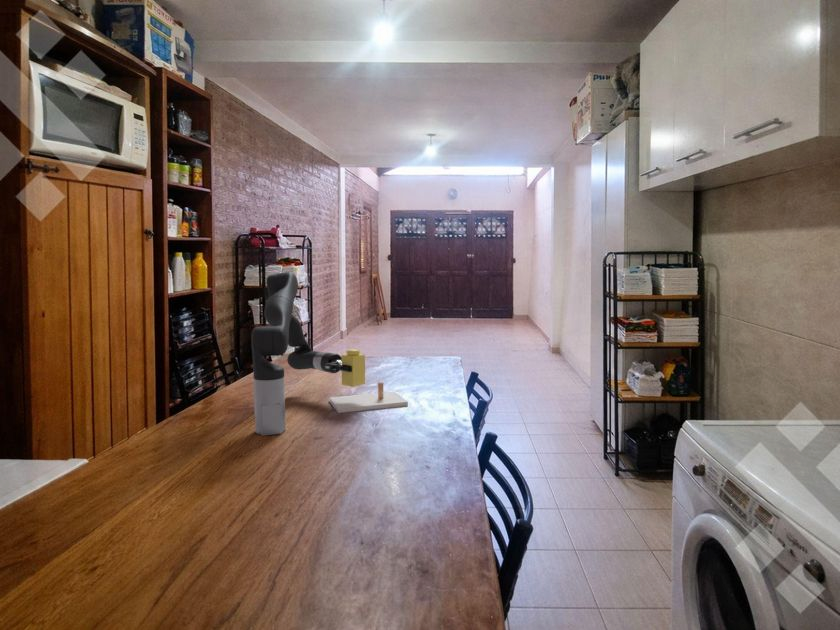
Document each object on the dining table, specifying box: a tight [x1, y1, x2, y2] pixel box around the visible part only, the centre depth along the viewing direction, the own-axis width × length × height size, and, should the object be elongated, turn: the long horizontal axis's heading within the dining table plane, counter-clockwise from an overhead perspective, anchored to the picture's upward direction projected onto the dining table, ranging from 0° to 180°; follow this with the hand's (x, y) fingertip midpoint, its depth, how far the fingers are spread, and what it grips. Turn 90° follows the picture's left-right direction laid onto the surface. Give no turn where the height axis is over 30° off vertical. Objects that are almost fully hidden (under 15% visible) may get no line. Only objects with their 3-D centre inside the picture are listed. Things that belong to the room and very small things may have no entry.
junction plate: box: [328, 381, 409, 414], centre depth 196 cm, size 16×26×8 cm, turn 111°
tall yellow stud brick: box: [341, 349, 366, 388], centre depth 193 cm, size 6×6×13 cm
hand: (357, 367), depth 192 cm, fingers closed on tall yellow stud brick, 6 cm apart
